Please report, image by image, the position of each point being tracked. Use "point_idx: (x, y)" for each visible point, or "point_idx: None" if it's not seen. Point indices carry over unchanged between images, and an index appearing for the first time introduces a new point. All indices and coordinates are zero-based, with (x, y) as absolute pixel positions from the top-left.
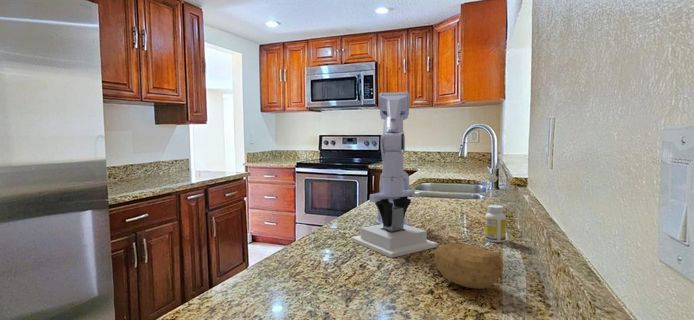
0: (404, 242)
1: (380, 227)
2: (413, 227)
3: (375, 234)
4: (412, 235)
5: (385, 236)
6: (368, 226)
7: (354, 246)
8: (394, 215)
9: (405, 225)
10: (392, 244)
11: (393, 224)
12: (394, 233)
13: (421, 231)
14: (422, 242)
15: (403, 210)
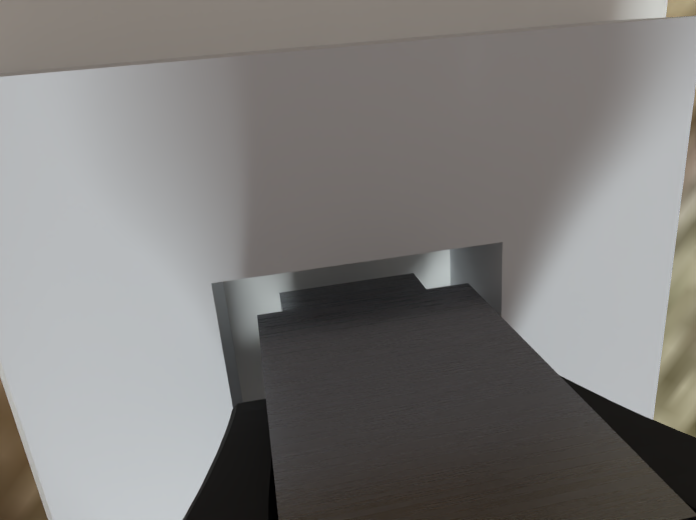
0: (405, 39)
1: None
2: (27, 365)
3: (657, 309)
4: (266, 53)
5: (670, 139)
6: None
7: (670, 371)
8: (539, 421)
9: (88, 494)
10: (602, 22)
11: (486, 329)
12: (485, 206)
13: (33, 98)
14: (73, 65)
15: None
